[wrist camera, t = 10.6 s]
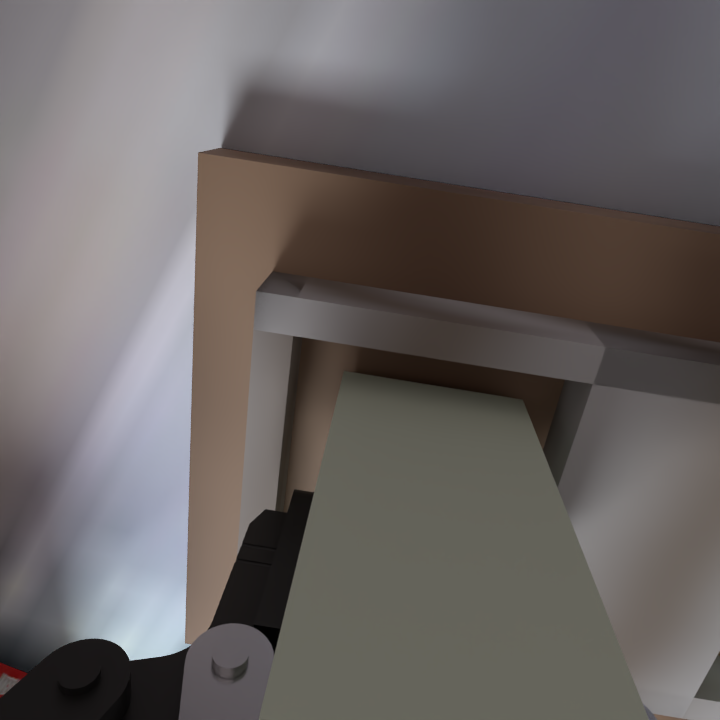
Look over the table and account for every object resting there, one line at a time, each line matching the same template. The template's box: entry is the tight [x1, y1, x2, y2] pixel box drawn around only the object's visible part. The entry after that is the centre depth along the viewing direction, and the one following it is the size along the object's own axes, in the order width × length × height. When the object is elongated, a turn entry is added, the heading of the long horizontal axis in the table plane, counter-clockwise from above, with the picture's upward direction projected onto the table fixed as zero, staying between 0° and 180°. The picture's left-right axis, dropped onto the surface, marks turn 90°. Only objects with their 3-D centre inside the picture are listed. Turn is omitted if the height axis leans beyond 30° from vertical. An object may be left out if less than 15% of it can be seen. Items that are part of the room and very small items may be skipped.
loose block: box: [259, 371, 649, 720], centre depth 10 cm, size 4×6×8 cm, turn 172°
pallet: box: [185, 148, 720, 720], centre depth 14 cm, size 22×14×3 cm, turn 82°
